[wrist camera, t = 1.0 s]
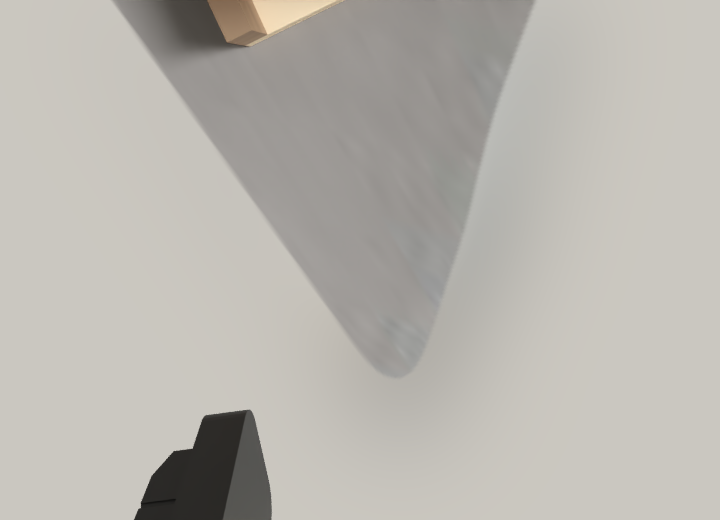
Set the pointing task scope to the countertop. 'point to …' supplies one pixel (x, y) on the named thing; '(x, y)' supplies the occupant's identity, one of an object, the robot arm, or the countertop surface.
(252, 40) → the track
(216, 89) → the countertop surface
